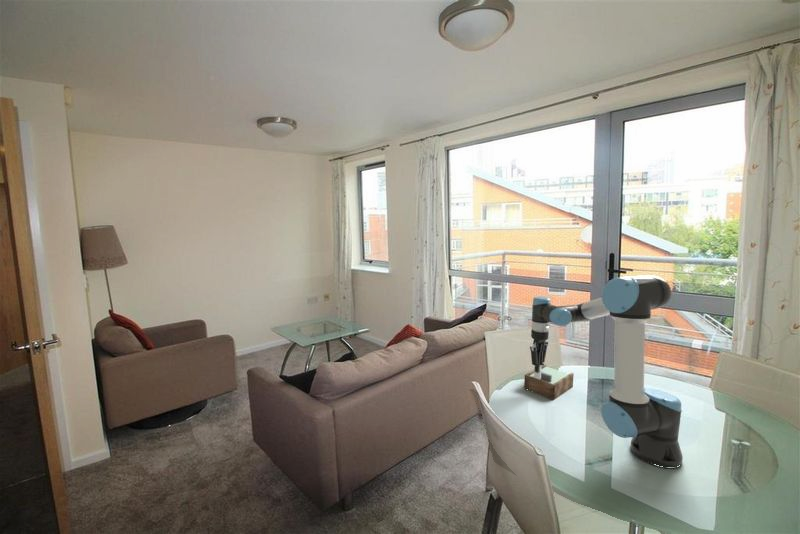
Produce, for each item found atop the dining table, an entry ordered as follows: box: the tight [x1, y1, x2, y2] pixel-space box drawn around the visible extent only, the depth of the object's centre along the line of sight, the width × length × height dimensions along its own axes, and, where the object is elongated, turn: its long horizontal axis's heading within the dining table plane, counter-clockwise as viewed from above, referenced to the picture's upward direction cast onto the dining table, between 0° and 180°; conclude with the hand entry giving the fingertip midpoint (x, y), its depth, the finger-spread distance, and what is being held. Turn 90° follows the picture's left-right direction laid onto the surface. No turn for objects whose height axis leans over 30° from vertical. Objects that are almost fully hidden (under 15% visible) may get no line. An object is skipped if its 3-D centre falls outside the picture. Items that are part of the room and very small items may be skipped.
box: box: [523, 363, 575, 401], centre depth 179 cm, size 20×15×7 cm
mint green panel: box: [530, 366, 570, 384], centre depth 179 cm, size 17×12×4 cm
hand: (537, 378), depth 171 cm, fingers closed
